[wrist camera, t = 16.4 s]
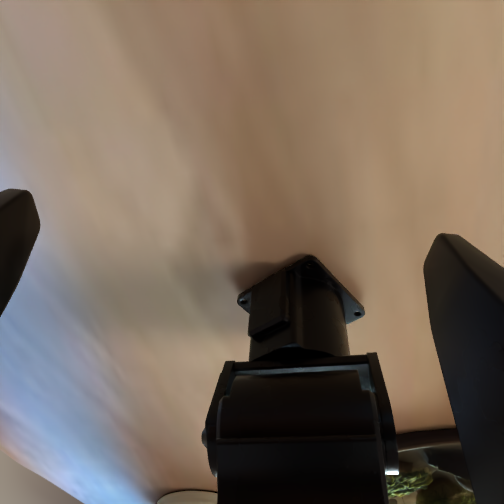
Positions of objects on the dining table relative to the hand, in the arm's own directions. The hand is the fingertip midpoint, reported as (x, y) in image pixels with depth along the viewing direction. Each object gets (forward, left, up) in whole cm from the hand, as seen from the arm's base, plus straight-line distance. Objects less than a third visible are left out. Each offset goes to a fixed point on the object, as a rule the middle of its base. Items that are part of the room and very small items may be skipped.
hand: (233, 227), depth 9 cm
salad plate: (-42, +11, -13) cm, 45 cm away
